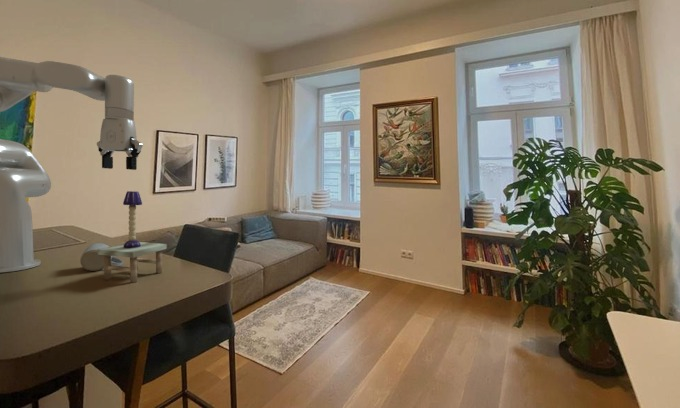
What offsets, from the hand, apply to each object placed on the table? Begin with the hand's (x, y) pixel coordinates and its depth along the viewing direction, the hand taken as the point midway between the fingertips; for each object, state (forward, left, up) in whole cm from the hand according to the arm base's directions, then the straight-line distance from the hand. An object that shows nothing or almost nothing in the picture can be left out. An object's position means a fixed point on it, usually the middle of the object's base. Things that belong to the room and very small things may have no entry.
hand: (119, 168), depth 96 cm
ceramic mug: (-4, -3, -33) cm, 33 cm away
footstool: (+13, -7, -33) cm, 36 cm away
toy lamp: (+12, -7, -24) cm, 28 cm away
